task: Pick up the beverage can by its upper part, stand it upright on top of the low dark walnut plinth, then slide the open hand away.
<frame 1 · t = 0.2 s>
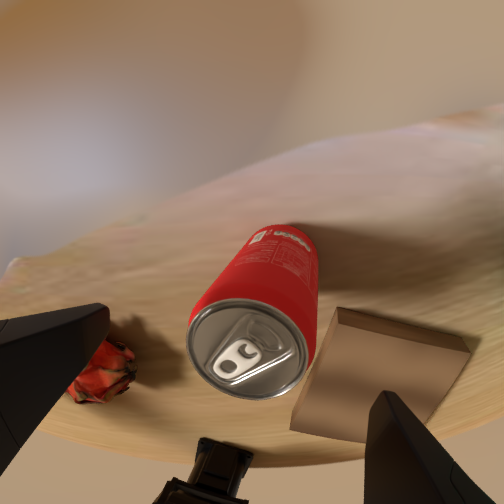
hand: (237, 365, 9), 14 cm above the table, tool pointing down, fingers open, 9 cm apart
dragon fruit: (108, 344, 29), on the table
beverage can: (282, 255, 22), on the table
walnut plinth: (376, 380, 24), on the table
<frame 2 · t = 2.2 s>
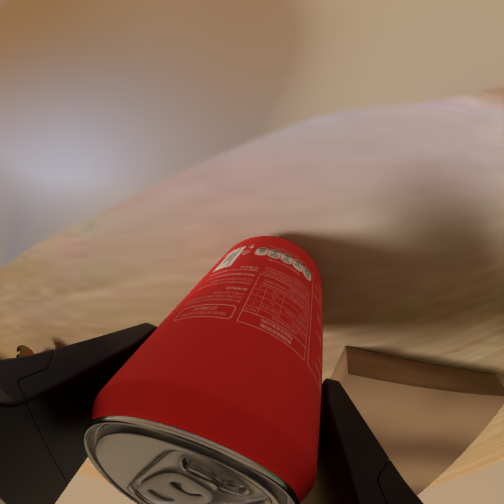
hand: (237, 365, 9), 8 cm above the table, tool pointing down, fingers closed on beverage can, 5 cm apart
beverage can: (271, 278, 16), on the table, touching gripper
walnut plinth: (390, 428, 17), on the table
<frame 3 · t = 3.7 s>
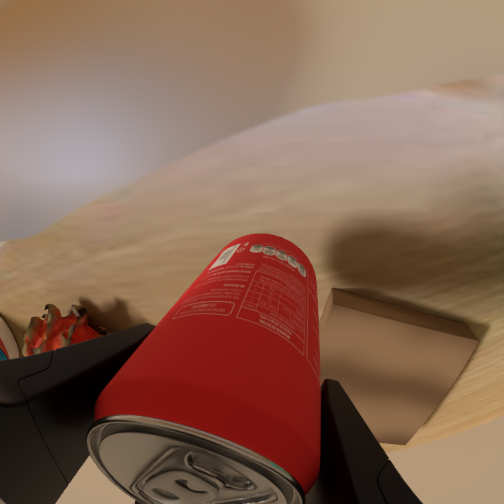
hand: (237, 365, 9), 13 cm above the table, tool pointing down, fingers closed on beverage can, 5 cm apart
fruit juice: (3, 335, 34), on the table
dragon fruit: (92, 330, 27), on the table
beverage can: (265, 275, 16), point 5 cm above the table, touching gripper
walnut plinth: (375, 371, 22), on the table
when the fingers open (11 cm above the table, at t = 5.7 s): beverage can drops 1 cm, resting on walnut plinth.
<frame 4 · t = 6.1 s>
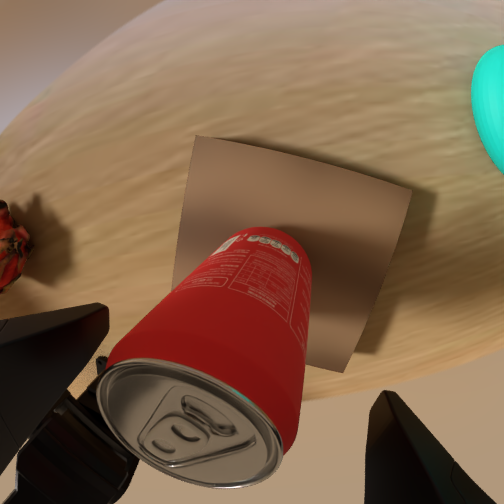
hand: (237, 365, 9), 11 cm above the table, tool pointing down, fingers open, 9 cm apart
dragon fruit: (18, 238, 25), on the table
beverage can: (266, 266, 17), point 2 cm above the table, touching walnut plinth
walnut plinth: (282, 252, 19), on the table
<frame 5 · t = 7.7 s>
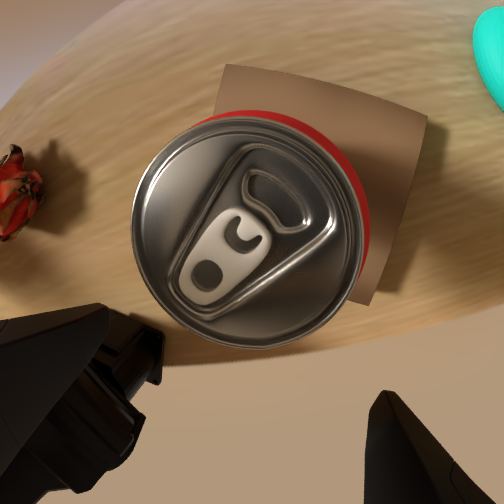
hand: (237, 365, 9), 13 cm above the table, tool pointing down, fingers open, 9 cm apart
dragon fruit: (28, 189, 25), on the table
beverage can: (291, 185, 17), point 2 cm above the table, touching walnut plinth
walnut plinth: (305, 180, 19), on the table
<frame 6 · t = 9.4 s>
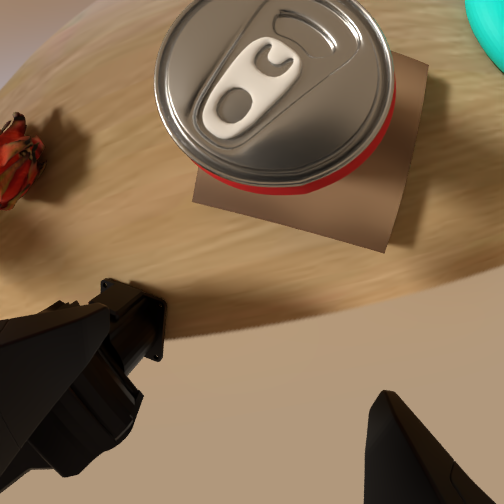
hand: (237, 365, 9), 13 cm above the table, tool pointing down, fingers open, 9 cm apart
dragon fruit: (29, 160, 24), on the table
beverage can: (300, 128, 16), point 2 cm above the table, touching walnut plinth
walnut plinth: (312, 129, 18), on the table
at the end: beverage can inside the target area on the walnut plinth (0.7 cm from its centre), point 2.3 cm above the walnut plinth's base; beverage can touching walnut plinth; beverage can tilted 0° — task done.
